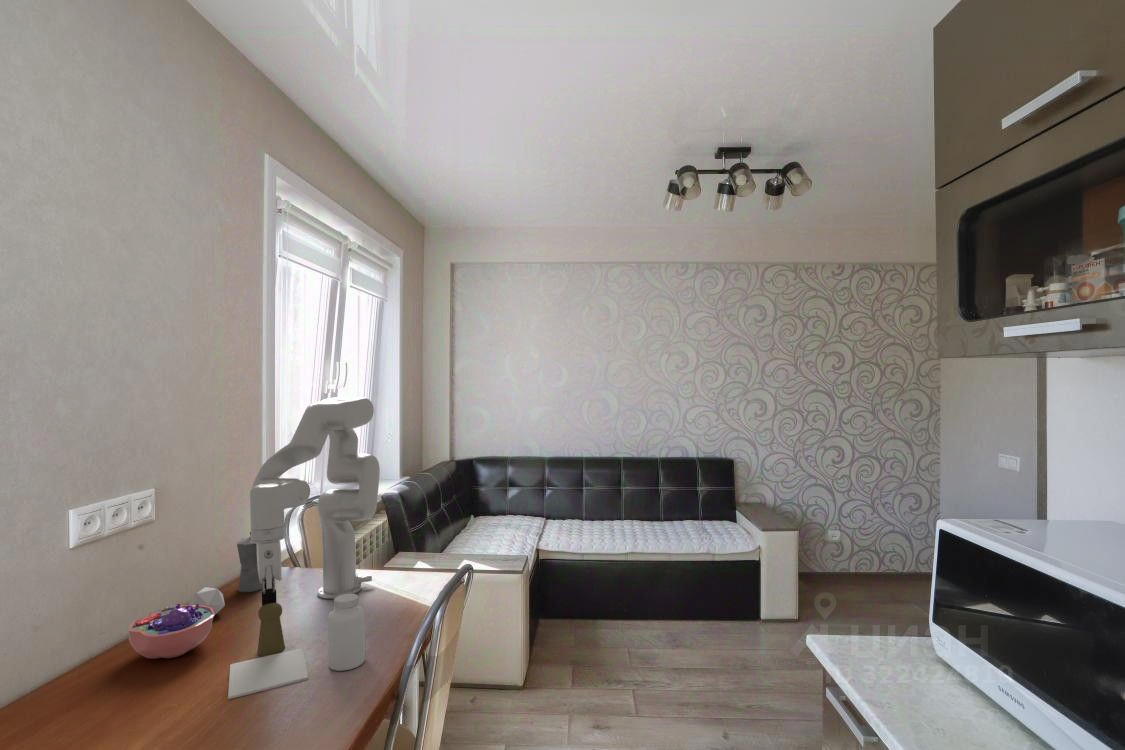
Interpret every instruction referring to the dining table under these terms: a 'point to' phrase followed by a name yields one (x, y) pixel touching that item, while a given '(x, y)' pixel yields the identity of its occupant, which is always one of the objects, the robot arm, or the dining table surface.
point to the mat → (266, 673)
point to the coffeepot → (248, 566)
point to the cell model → (171, 630)
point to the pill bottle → (346, 633)
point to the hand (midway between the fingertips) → (269, 607)
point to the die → (209, 599)
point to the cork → (270, 630)
